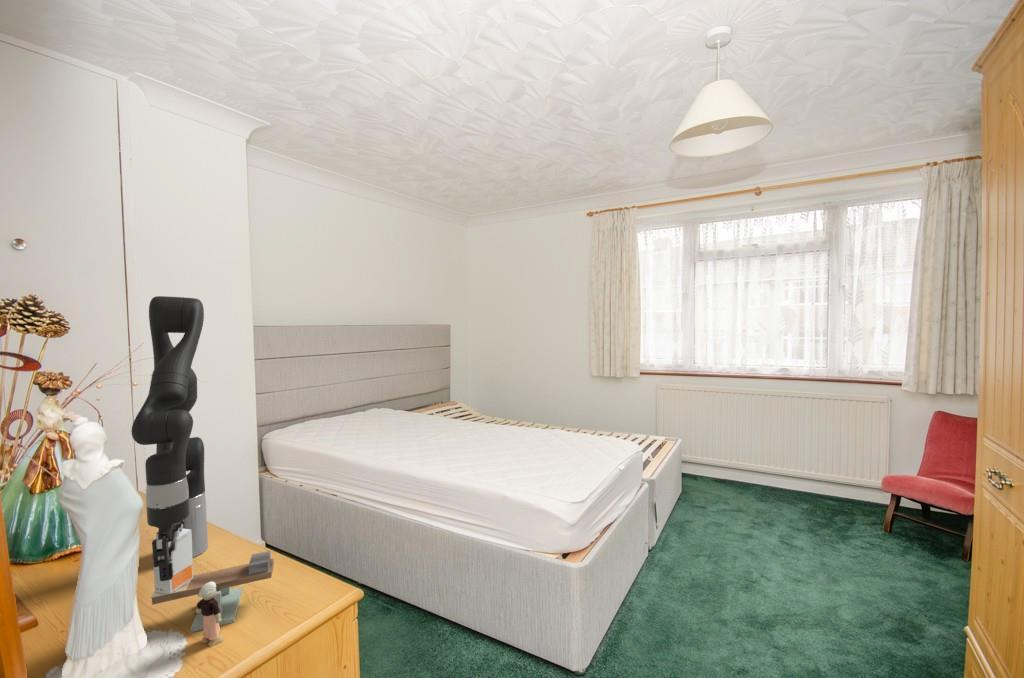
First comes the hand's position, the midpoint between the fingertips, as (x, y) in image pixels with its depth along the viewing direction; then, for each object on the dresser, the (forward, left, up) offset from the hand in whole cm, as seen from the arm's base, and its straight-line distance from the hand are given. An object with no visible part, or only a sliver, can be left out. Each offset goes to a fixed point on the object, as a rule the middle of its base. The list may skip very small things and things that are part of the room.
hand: (172, 569), depth 101 cm
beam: (0, +8, -6) cm, 10 cm away
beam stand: (0, +8, -12) cm, 15 cm away
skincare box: (0, 0, -4) cm, 4 cm away
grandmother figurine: (+10, +9, -12) cm, 18 cm away
